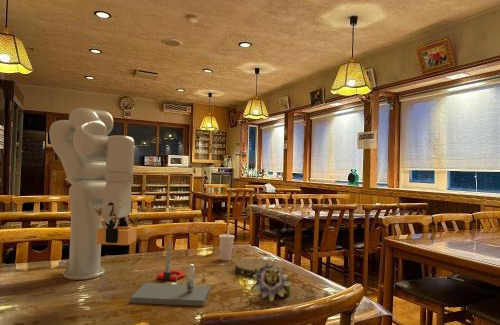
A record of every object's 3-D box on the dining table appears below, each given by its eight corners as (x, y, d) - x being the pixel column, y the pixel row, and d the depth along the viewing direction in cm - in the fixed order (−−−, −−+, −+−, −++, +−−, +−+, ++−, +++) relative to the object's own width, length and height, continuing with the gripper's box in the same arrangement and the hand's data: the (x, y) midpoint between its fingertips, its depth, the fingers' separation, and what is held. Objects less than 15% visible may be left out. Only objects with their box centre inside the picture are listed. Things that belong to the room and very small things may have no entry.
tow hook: (165, 273, 124) (153, 279, 114) (167, 236, 124) (156, 240, 115) (187, 274, 122) (178, 282, 113) (189, 237, 123) (180, 241, 114)
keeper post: (185, 292, 99) (186, 264, 99) (187, 290, 101) (188, 262, 101) (192, 293, 99) (193, 264, 99) (194, 290, 101) (195, 263, 101)
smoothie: (233, 261, 140) (234, 226, 140) (217, 261, 140) (218, 226, 140) (234, 257, 146) (235, 224, 146) (218, 257, 146) (220, 223, 146)
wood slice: (286, 277, 123) (286, 268, 123) (243, 280, 117) (244, 272, 117) (268, 265, 138) (268, 257, 138) (230, 267, 132) (230, 259, 132)
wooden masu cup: (96, 243, 98) (96, 229, 98) (106, 239, 104) (107, 225, 105) (127, 245, 98) (128, 230, 98) (136, 240, 104) (136, 226, 104)
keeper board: (130, 302, 95) (130, 297, 95) (145, 287, 107) (145, 282, 107) (203, 306, 94) (203, 300, 94) (210, 290, 106) (210, 285, 106)
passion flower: (270, 320, 99) (250, 289, 96) (258, 299, 109) (240, 271, 106) (302, 296, 101) (284, 266, 97) (287, 278, 111) (270, 249, 108)
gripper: (119, 177, 110) (116, 234, 110) (92, 178, 93) (89, 246, 93) (142, 178, 110) (140, 235, 110) (120, 179, 93) (117, 247, 92)
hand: (117, 239), depth 101 cm, fingers closed on wooden masu cup, 6 cm apart
